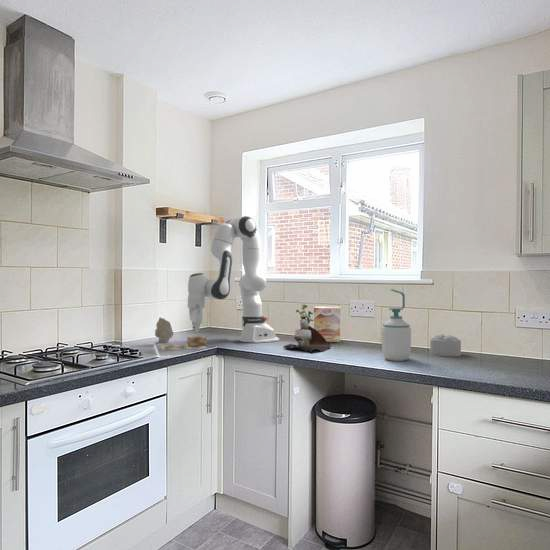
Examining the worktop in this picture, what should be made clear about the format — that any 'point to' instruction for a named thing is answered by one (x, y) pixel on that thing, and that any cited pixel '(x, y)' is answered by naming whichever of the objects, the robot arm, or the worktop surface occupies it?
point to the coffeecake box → (328, 322)
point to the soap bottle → (396, 336)
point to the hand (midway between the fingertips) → (195, 330)
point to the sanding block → (197, 341)
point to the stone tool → (163, 330)
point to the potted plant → (308, 335)
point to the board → (179, 347)
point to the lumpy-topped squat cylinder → (445, 346)
